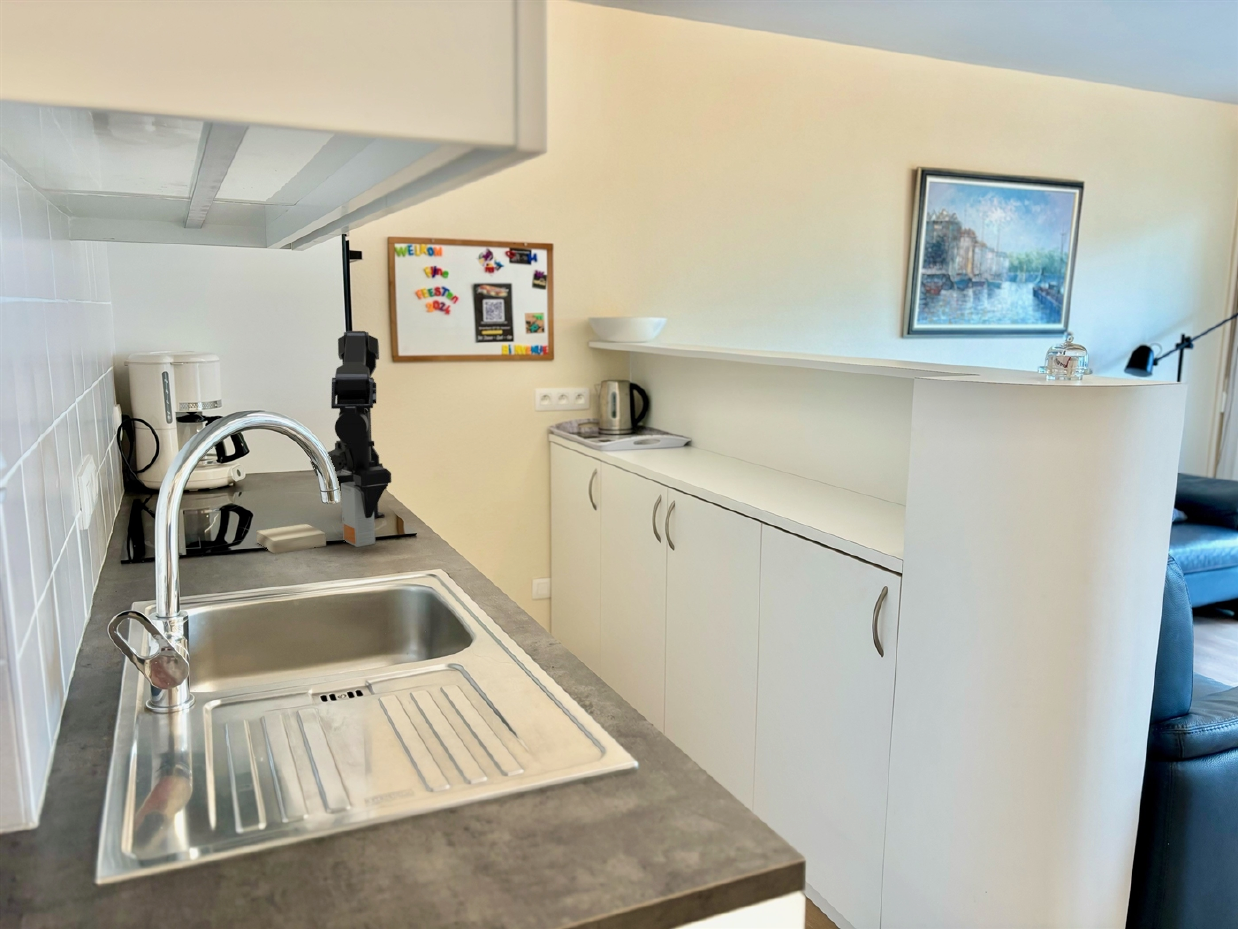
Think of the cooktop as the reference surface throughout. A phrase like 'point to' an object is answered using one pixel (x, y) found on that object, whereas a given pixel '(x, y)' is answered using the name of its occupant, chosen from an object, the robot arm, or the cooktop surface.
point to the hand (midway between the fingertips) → (358, 513)
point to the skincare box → (355, 517)
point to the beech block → (291, 538)
